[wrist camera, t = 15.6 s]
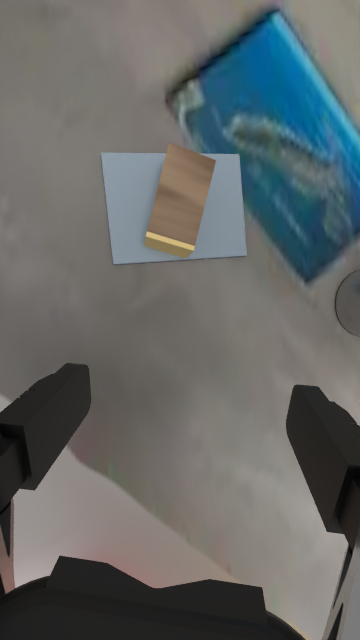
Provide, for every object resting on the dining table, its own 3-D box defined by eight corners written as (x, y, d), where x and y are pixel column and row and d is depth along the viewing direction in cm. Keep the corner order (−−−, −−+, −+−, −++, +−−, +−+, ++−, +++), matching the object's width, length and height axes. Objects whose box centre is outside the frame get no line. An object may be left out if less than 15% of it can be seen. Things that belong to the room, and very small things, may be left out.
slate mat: (237, 157, 31) (239, 154, 30) (244, 256, 32) (247, 255, 31) (101, 155, 28) (100, 152, 27) (113, 265, 29) (113, 264, 28)
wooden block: (205, 179, 30) (185, 258, 30) (163, 164, 29) (143, 246, 29) (216, 160, 26) (193, 250, 26) (168, 142, 25) (145, 236, 25)
